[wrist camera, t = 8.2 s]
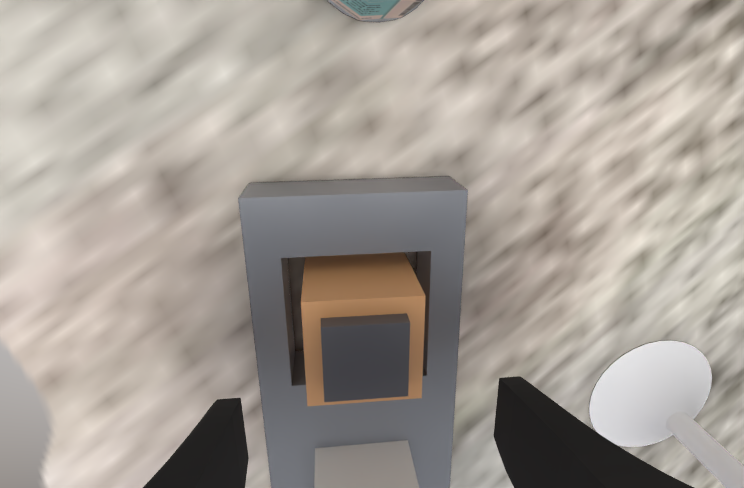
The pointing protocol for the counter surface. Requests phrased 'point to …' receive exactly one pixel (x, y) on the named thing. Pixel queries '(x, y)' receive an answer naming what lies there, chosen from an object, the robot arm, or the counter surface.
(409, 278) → the orange plug
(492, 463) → the counter surface
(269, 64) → the counter surface
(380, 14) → the beer can
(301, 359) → the socket strip
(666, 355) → the champagne flute
